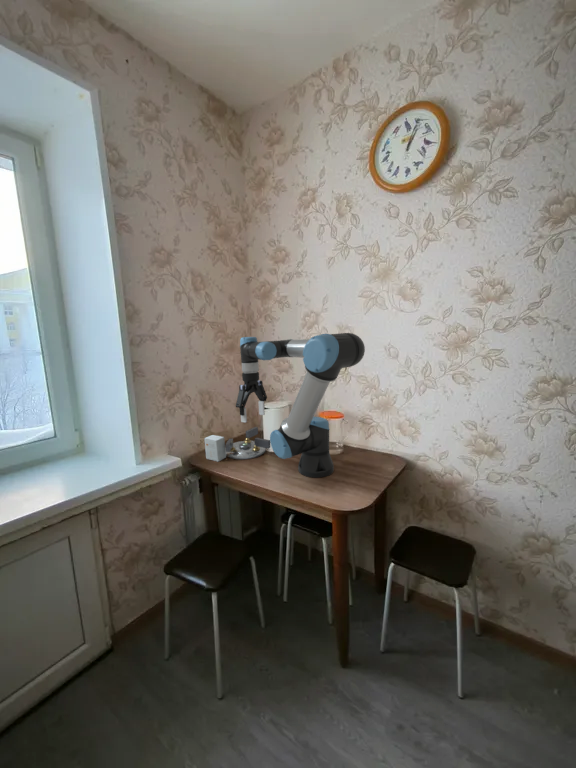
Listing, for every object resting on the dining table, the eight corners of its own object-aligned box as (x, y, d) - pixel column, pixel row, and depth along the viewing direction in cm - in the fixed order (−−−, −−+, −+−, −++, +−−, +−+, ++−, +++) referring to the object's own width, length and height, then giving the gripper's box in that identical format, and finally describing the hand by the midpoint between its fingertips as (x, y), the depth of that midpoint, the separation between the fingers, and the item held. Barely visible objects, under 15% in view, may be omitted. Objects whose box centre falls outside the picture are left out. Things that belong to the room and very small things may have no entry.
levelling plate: (273, 448, 169) (272, 440, 169) (248, 462, 153) (247, 454, 152) (243, 441, 180) (242, 435, 179) (216, 454, 164) (216, 447, 163)
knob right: (248, 443, 170) (247, 432, 169) (242, 442, 172) (242, 431, 171) (259, 438, 179) (259, 427, 177) (254, 437, 180) (253, 426, 179)
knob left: (228, 448, 165) (228, 437, 164) (236, 448, 165) (235, 437, 164) (224, 456, 155) (223, 444, 154) (231, 456, 155) (231, 444, 154)
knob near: (251, 450, 162) (250, 438, 161) (255, 447, 165) (255, 436, 164) (267, 453, 156) (266, 442, 155) (271, 451, 159) (271, 439, 158)
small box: (226, 457, 159) (224, 436, 157) (218, 462, 155) (216, 440, 153) (214, 454, 164) (212, 434, 162) (205, 458, 159) (204, 437, 157)
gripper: (260, 368, 160) (262, 411, 164) (225, 375, 140) (228, 424, 143) (273, 368, 156) (275, 412, 160) (238, 376, 136) (242, 426, 139)
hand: (253, 418), depth 151 cm, fingers open, 12 cm apart
